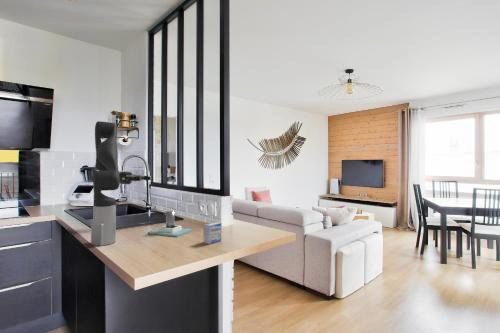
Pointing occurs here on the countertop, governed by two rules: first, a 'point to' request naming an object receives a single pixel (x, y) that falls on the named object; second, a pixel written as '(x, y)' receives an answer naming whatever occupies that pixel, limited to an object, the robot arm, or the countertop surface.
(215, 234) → the medicine box
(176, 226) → the housing tray
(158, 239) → the countertop surface
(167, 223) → the metal hub
